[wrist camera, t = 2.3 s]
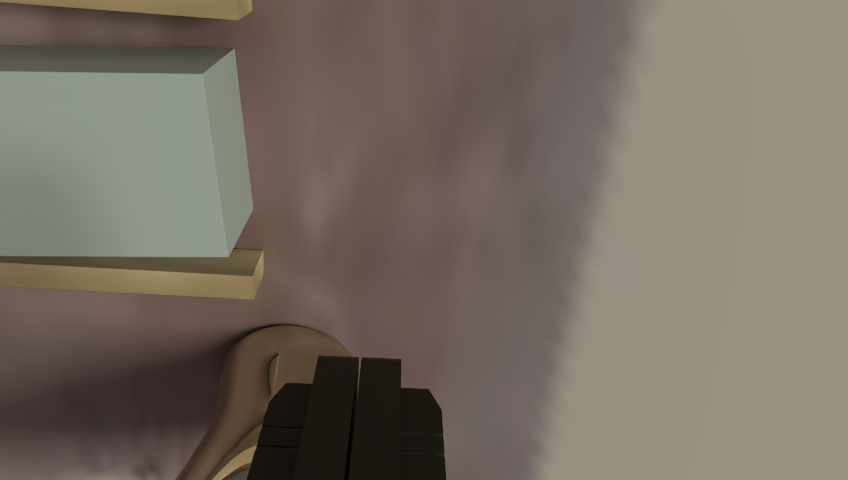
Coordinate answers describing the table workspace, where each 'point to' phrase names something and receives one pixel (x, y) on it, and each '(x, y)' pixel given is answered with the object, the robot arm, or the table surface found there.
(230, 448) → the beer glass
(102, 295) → the table surface
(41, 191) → the pale teal block
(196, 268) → the bay
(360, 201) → the table surface
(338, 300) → the table surface
